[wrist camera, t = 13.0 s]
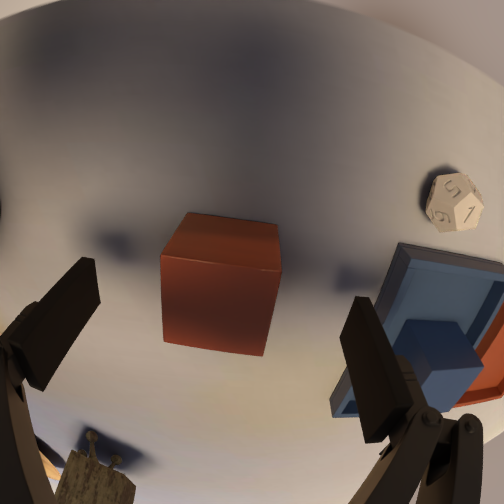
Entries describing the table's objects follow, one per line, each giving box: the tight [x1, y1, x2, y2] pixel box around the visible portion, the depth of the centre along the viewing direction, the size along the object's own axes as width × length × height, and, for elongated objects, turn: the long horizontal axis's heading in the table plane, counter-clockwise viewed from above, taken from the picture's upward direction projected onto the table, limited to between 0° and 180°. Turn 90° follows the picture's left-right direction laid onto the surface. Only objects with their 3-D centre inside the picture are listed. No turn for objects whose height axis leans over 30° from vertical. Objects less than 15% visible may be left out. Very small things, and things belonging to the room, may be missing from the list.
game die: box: [426, 173, 484, 232], centre depth 14 cm, size 4×4×3 cm
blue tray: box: [330, 243, 504, 418], centre depth 20 cm, size 15×10×2 cm
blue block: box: [392, 320, 484, 413], centre depth 18 cm, size 5×5×5 cm
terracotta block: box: [160, 213, 282, 356], centre depth 16 cm, size 5×5×5 cm
